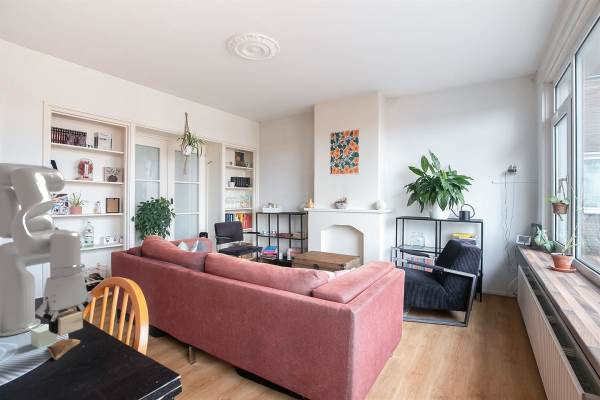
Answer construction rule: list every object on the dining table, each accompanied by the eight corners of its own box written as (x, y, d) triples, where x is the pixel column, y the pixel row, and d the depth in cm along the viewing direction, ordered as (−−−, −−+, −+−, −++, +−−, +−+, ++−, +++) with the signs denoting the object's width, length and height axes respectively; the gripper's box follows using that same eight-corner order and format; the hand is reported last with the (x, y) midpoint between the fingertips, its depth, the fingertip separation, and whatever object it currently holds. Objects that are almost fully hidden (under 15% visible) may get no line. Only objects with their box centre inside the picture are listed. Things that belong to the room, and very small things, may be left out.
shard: (55, 362, 86) (55, 356, 86) (28, 363, 86) (28, 357, 86) (81, 343, 97) (81, 338, 97) (57, 344, 97) (57, 338, 97)
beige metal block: (50, 332, 91) (50, 316, 91) (72, 324, 96) (71, 309, 96) (60, 335, 88) (60, 319, 88) (82, 327, 94) (82, 312, 94)
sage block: (30, 345, 95) (30, 329, 95) (49, 338, 100) (49, 323, 100) (38, 348, 93) (38, 332, 93) (57, 341, 98) (57, 326, 98)
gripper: (88, 264, 102) (89, 316, 102) (24, 276, 86) (25, 337, 86) (101, 266, 98) (102, 320, 99) (37, 279, 83) (38, 343, 83)
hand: (66, 327), depth 92 cm, fingers closed on beige metal block, 6 cm apart
